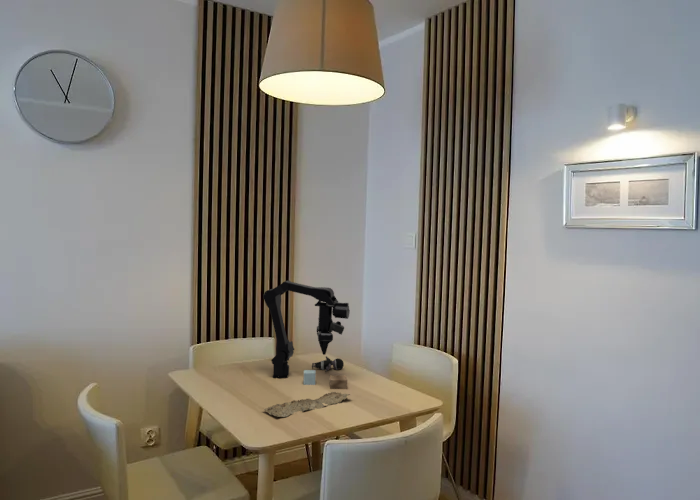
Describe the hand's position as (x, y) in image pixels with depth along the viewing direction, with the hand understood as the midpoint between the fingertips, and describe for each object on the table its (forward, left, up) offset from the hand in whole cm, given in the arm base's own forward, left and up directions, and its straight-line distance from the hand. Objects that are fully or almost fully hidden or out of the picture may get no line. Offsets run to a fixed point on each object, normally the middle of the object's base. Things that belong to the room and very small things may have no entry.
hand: (323, 351), depth 229 cm
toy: (+3, +18, -13) cm, 22 cm away
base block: (+6, -9, -13) cm, 17 cm away
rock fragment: (-6, -33, -13) cm, 36 cm away
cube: (-6, -4, -13) cm, 15 cm away
